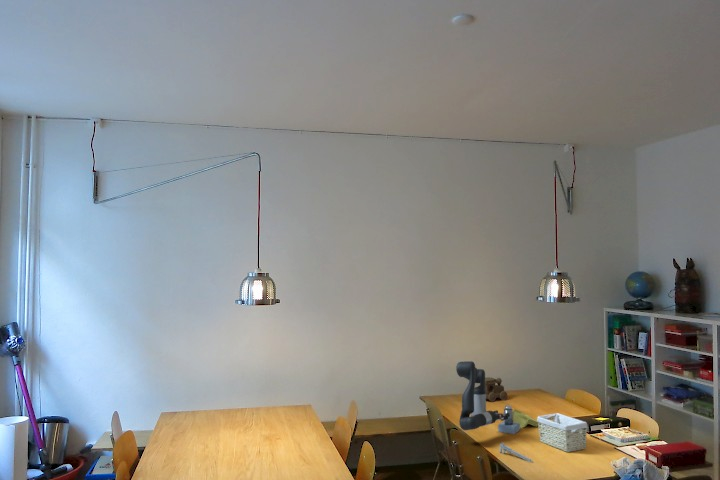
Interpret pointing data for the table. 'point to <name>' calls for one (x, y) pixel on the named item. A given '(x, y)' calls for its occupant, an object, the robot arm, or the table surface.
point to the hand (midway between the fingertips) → (503, 413)
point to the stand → (509, 428)
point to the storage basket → (562, 432)
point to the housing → (510, 418)
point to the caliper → (513, 452)
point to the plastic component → (523, 419)
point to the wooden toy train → (494, 389)
